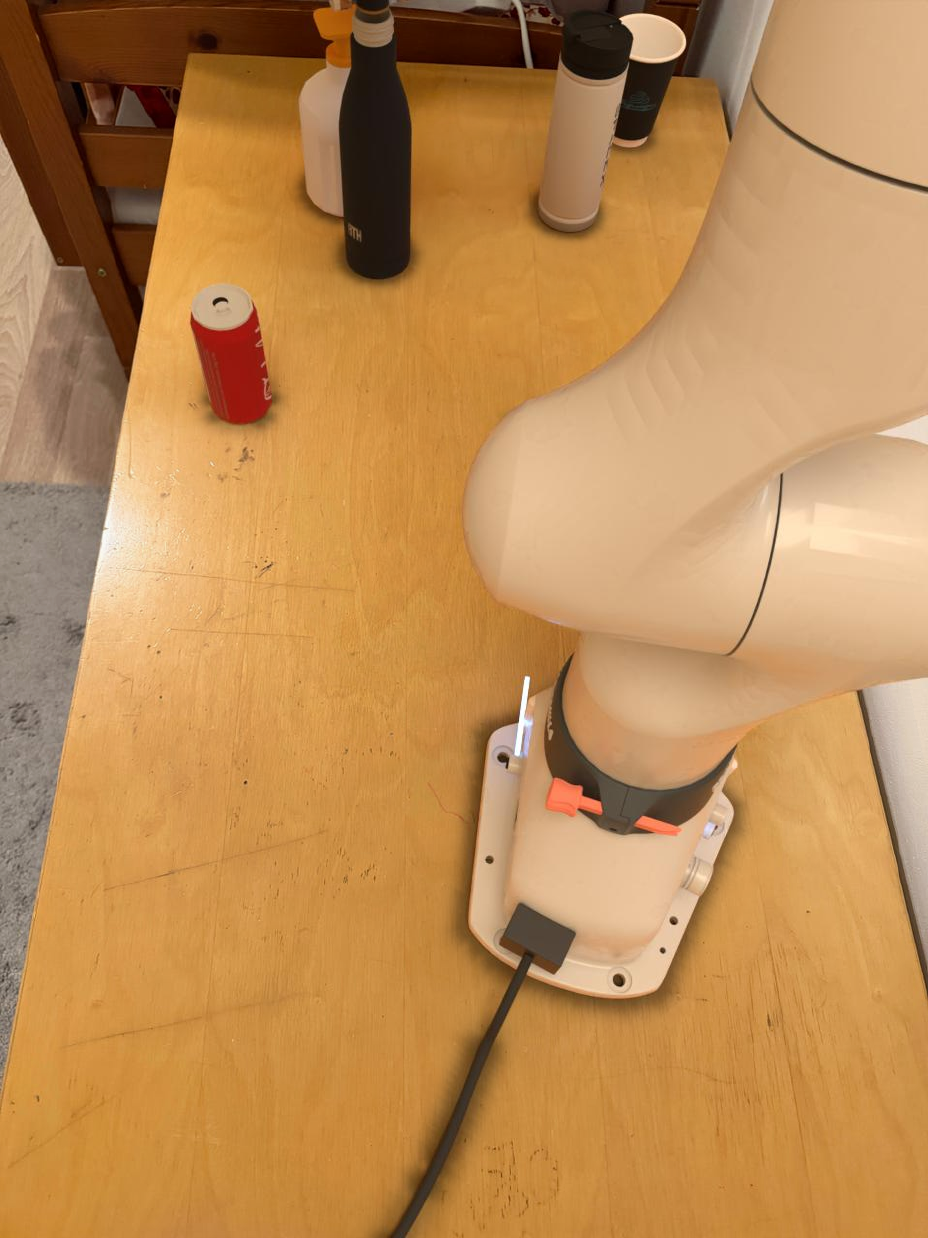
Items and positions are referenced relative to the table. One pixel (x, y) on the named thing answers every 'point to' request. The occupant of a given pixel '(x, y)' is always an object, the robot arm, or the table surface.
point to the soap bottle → (326, 112)
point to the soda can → (231, 352)
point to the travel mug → (583, 118)
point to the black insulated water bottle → (375, 148)
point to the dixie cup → (646, 75)
